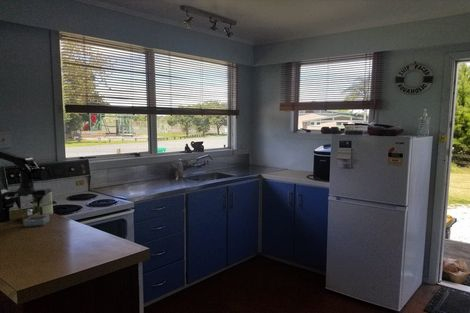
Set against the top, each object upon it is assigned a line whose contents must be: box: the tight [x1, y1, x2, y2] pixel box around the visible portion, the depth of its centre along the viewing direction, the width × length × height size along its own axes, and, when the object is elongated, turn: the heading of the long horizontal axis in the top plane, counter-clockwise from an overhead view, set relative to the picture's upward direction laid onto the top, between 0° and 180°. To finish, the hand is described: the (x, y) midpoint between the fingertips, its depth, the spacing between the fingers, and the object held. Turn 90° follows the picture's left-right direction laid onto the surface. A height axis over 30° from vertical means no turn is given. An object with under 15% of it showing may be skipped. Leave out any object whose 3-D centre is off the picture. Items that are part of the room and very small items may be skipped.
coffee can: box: [31, 188, 54, 216], centre depth 202 cm, size 10×10×14 cm
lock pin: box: [26, 208, 33, 216], centre depth 188 cm, size 2×2×6 cm
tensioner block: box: [21, 210, 40, 223], centre depth 190 cm, size 9×6×4 cm, turn 12°
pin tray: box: [22, 215, 51, 228], centre depth 182 cm, size 10×10×3 cm
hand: (29, 208), depth 188 cm, fingers open, 9 cm apart
